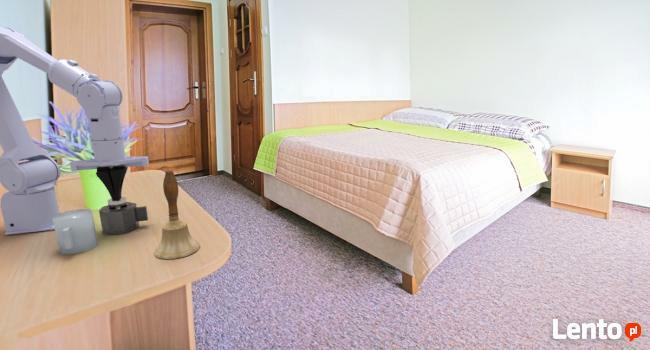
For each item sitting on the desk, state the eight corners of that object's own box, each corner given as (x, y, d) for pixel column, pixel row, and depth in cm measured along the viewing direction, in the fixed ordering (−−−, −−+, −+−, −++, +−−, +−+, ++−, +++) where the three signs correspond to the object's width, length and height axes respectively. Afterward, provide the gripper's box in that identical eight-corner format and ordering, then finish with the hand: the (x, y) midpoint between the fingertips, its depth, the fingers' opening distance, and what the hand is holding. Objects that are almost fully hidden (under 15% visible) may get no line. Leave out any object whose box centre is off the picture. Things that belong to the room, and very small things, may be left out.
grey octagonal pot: (100, 236, 75) (96, 213, 74) (108, 225, 81) (104, 204, 80) (146, 230, 78) (143, 208, 77) (150, 220, 84) (147, 199, 83)
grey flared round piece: (110, 229, 77) (105, 202, 75) (114, 224, 80) (109, 197, 79) (128, 227, 78) (124, 200, 77) (131, 222, 81) (127, 196, 80)
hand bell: (163, 242, 72) (153, 167, 68) (204, 240, 73) (196, 165, 69) (147, 261, 64) (135, 177, 60) (193, 258, 65) (184, 175, 61)
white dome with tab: (49, 261, 64) (42, 225, 63) (66, 243, 72) (60, 211, 70) (89, 255, 66) (83, 221, 65) (101, 238, 74) (96, 207, 72)
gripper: (60, 143, 69) (72, 208, 72) (141, 139, 73) (150, 201, 76) (72, 139, 75) (83, 199, 78) (146, 135, 79) (154, 192, 83)
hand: (117, 199), depth 78 cm, fingers closed, pressing on grey flared round piece
